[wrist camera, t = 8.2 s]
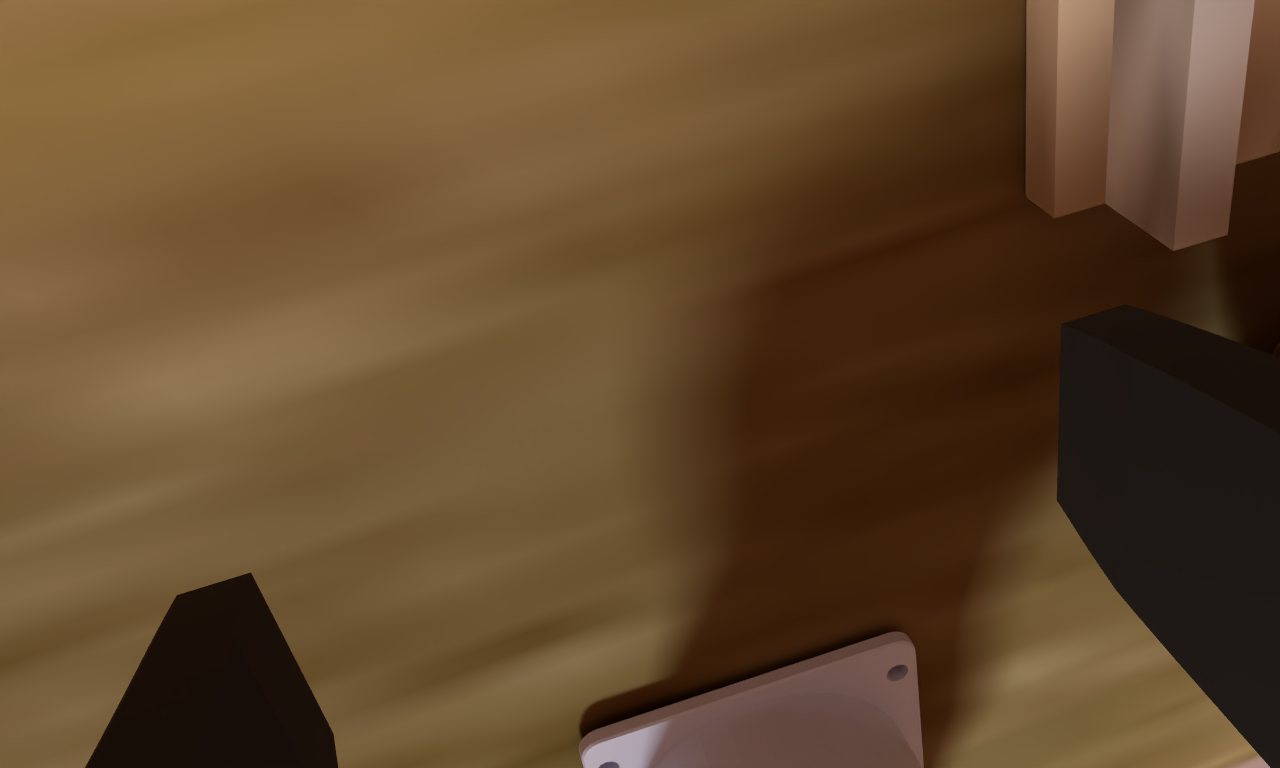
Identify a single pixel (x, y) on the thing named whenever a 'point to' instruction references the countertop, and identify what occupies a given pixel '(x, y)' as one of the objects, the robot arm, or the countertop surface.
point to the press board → (1149, 108)
